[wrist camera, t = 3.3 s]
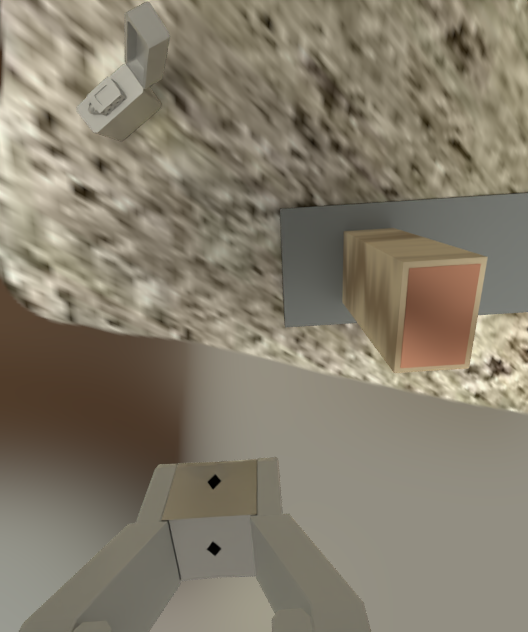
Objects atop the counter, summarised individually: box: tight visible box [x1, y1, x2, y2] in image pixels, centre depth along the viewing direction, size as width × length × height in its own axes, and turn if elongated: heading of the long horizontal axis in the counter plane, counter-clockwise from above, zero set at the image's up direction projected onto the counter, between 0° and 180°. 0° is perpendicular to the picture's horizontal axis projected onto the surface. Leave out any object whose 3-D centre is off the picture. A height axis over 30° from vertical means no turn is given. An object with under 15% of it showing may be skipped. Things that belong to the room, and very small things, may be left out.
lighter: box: [77, 2, 170, 141], centre depth 21 cm, size 7×2×8 cm, turn 125°
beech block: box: [342, 228, 488, 373], centre depth 23 cm, size 6×4×12 cm, turn 4°
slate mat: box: [280, 193, 528, 327], centre depth 29 cm, size 10×26×1 cm, turn 94°
